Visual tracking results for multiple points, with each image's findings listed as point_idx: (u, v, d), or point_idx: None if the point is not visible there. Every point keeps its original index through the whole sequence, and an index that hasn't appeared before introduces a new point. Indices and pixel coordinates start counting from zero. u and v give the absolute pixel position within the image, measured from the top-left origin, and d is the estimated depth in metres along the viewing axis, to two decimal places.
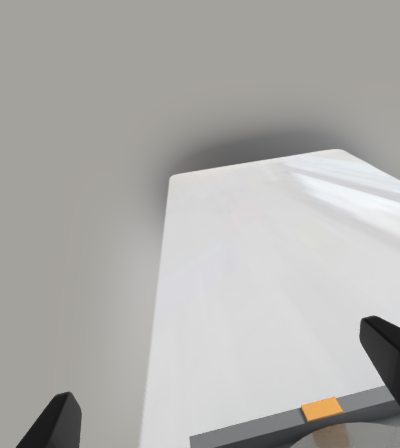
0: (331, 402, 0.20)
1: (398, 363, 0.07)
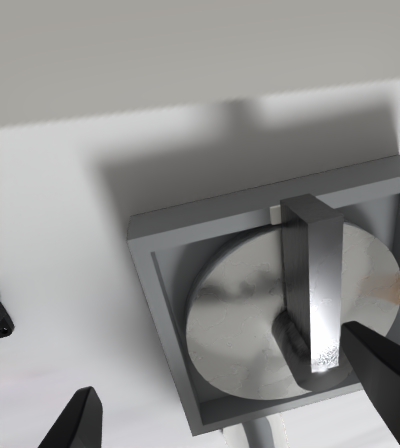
0: None
1: (375, 369, 0.07)
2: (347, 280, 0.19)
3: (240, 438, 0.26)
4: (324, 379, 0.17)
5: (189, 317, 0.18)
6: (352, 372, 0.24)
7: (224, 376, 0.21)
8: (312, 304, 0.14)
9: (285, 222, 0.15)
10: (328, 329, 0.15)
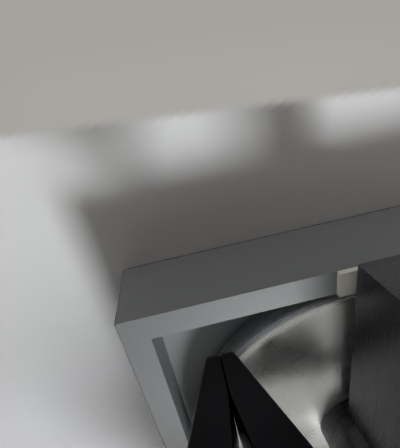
0: None
1: (232, 406, 0.07)
2: None
3: None
4: None
5: None
6: None
7: None
8: None
9: (367, 300, 0.09)
10: None
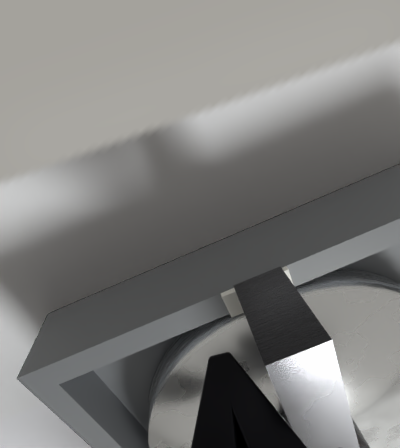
0: None
1: None
2: (373, 357, 0.12)
3: None
4: None
5: (149, 440, 0.13)
6: None
7: None
8: None
9: None
10: None
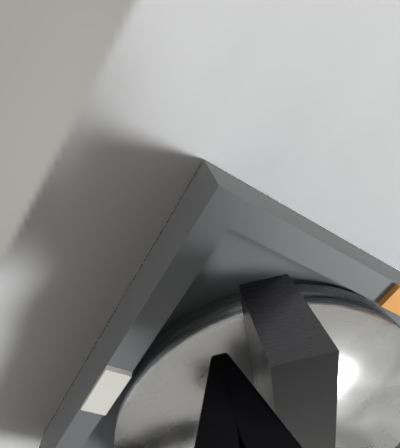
0: None
1: None
2: (350, 378, 0.13)
3: None
4: None
5: (116, 431, 0.12)
6: None
7: None
8: None
9: (246, 322, 0.09)
10: None
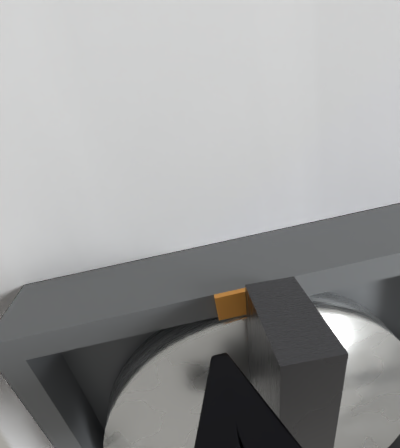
0: None
1: None
2: None
3: None
4: None
5: (106, 428, 0.12)
6: None
7: None
8: None
9: (250, 322, 0.09)
10: None
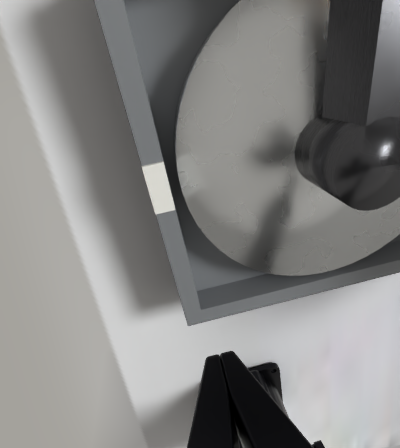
0: None
1: (232, 406, 0.07)
2: None
3: None
4: (375, 188, 0.11)
5: (182, 103, 0.12)
6: None
7: (224, 224, 0.15)
8: (386, 10, 0.09)
9: None
10: (399, 77, 0.10)
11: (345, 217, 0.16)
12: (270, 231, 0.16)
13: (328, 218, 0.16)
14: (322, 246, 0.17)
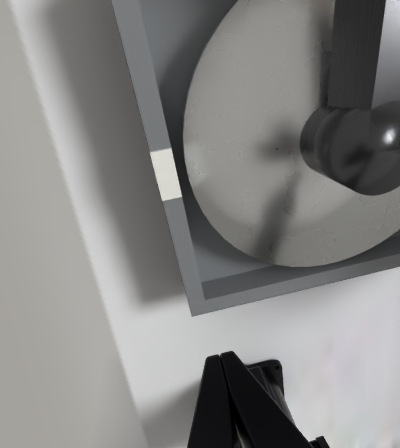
0: None
1: (232, 406, 0.07)
2: None
3: None
4: (380, 173, 0.12)
5: (190, 90, 0.13)
6: None
7: (229, 213, 0.15)
8: None
9: None
10: None
11: (349, 208, 0.16)
12: (275, 221, 0.16)
13: (332, 208, 0.16)
14: (326, 237, 0.17)
